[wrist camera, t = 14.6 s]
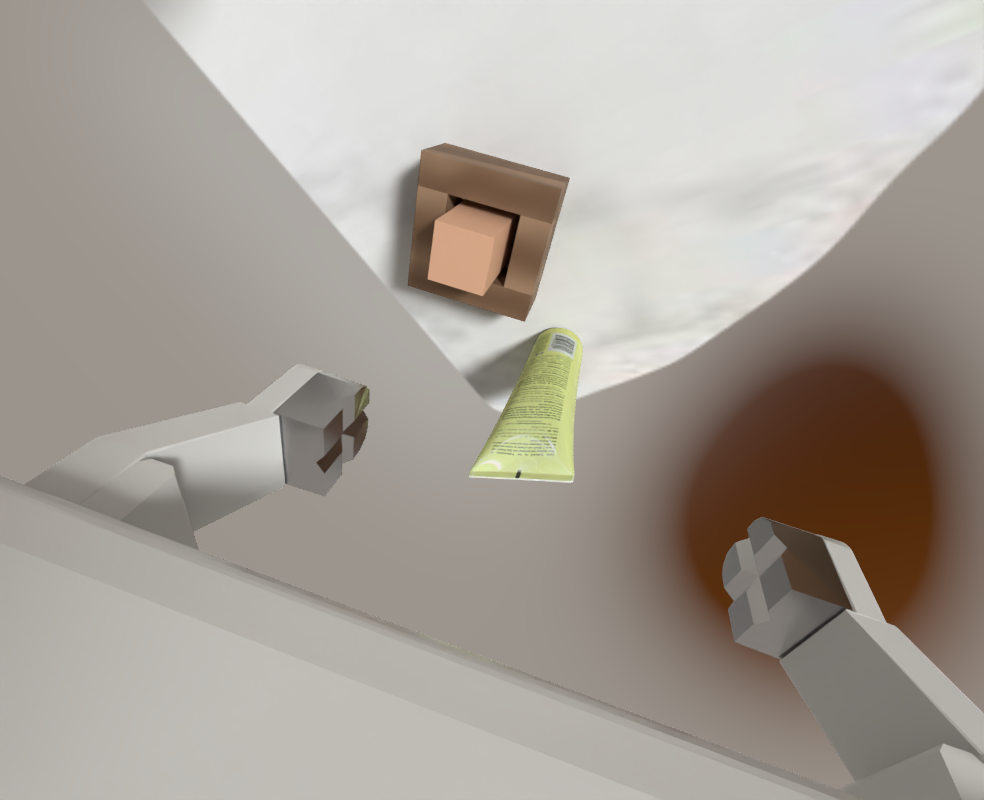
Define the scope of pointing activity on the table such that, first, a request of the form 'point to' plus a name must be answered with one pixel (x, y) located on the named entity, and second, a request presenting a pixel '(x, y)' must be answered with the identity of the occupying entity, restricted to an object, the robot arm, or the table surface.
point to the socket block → (498, 185)
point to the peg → (471, 246)
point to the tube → (537, 416)
